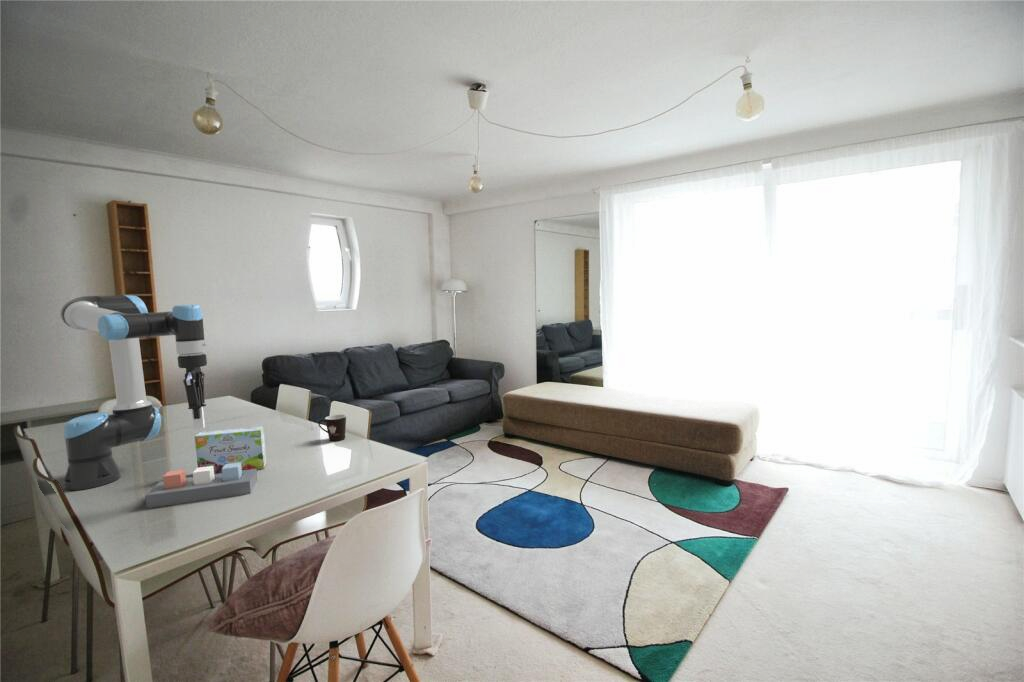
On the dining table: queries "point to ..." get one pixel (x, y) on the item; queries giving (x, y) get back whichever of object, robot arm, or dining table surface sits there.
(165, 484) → the brick key
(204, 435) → the snack box
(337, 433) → the coffee mug
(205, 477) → the ivory key
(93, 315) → the robot arm
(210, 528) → the dining table surface
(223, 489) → the console
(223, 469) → the slate key
